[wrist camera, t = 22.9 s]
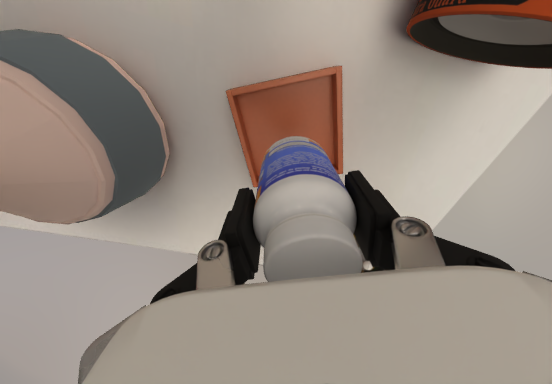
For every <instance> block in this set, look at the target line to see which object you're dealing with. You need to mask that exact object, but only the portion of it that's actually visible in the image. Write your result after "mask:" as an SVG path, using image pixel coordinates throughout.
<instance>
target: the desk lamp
mask: <svg viewBox="0 0 552 384" xmlns="http://www.w3.org/2000/svg"><path fill="white" fill-rule="evenodd" d="M169 153H170V152H169V147H168V142H167V137H166V131H165V126H164V123H163V121H162V119H161V118H160V116H159V114H158V113H157V111H156V109H155V107H154V106H153V104H152V102H151V100H150V99H149V97H148V95H147V94H146V92H145V90H144V89H142V88H141V87H140V86H139V85H138V84H137V83H136V82H135V81H134V80H133V79H132V78H131V77H130V76H129V75H128V74H127V73H126V72H125V71H124V70H123V69H122V68H121V67H120V66H119V65H118V64H117V63H116V62H115V61H114V60H112V59H111V58H109V57H107V56H105V55H103V54H101V53H99V52H97V51H96V50H94V49H92V48H90V47H88V46H86V45H84V44H82V43H81V42H79V41H77V40H75V39H73V38H67V37H64V36H62V35H59V34H51V33H43V32H35V31H27V30H19V29H17V30H6V31H0V211H3V212H7V213H11V214H14V215H18V216H22V217H25V218H28V219H31V220H34V221H38V222H47V223H58V224H71V223H79V222H83V221H87V220H91V219H95V218H98V217H102V216H104V215H106V214H108V213H109V212H111V211H113V210H115V209H117V208H119V207H121V206H123V205H125V204H127V203H129V202H131V201H133V200H134V199H136V198H138V197H140V196H142V195H144V194H146V193H147V192H148V191H149V190H150V189H151V188H152V187H153V186H154V185H155V184H156V183H157V182H158V181H159V180H160V179H161V177H162V176H163V175H164V172H165V169H166V165H167V161H168V157H169Z"/></svg>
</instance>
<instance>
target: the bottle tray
mask: <svg viewBox="0 0 552 384" xmlns="http://www.w3.org/2000/svg"><path fill="white" fill-rule="evenodd" d="M226 94H227V98H228V101H229V105H230V108H231V111H232V115H233V118H234V122H235V125H236V129H237V132H238V135H239V139H240V142H241V146H242V149H243V153H244V156H245V159H246V163H247V166H248V170H249V173H250V177H251V180H252V183H253V187H258V183H259V176H260V171H261V165H262V161H263V158H264V155H265V154H266V152H267V150H268V149H269V148H270V147H271V146H272V145H273V144H274V143H276V142H277V141H279V140H281V139H283V138H286V137H292V136H301V137H306V138H309V139H311V140H313V141H315V142H316V143H318V144H319V145H320V146H321V147H322V148H323V149H324V151H325V152H326V154H327V156H328V158H329V159H330V161H331V163H332V165H333V167H334V169H335V170H336V172H337V174H343V122H342V66H333V67H329V68H324V69H320V70H315V71H311V72H306V73H301V74H297V75H292V76H288V77H283V78H278V79H274V80H269V81H265V82H260V83H256V84H251V85H246V86H242V87H237V88H233V89H230V90H227V91H226Z"/></svg>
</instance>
